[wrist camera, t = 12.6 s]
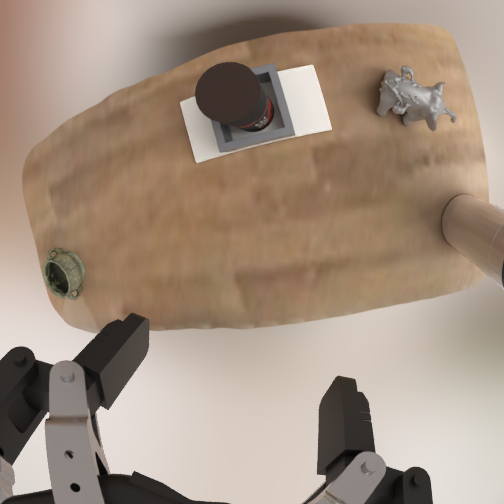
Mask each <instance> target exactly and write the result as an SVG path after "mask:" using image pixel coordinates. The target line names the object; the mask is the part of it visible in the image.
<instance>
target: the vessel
mask: <svg viewBox="0 0 504 504" xmlns="http://www.w3.org/2000/svg"><path fill="white" fill-rule="evenodd" d="M53 251H55V252H56V253H57V255H56V256H54V257H53V258H52V256H51V252H53ZM62 252H63V250H62V249H61V248H59V249H55V248H53V249H51V250H49V252H48V253H47V259H48V261H46V262H45V263H44V266H43V276H44V279H45V282H46V284H47V286H48V288H49V289H50V290H51V292H52V293H53V294H55V295H56V296H58V297H60V298H66V297H67V296H68V298H69V299H71V300H76V299H78V297H79V296H80V292H81V291H82V290H83V288H82V286H80V283H81V282H82V281H83V280H84V277H85V268H84V265H83V263H82V261H81V260H80V258H79V257H78V256H77V255H76V254H75V253H72V252H66V253H65V254H64V253H62ZM75 290H76V291H77V296H76V297H74V296H73V295H72V293H71V292H73V291H75Z"/></svg>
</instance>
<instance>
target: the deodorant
mask: <svg viewBox="0 0 504 504" xmlns="http://www.w3.org/2000/svg"><path fill="white" fill-rule="evenodd" d="M195 98H196V103H197V105H198V108H199V110H200V111H201V112H202V113H203V114H204V115H205V116H206V117H208V118H209V119H211V120H214V121H217V122H220V123H223V124H226V125H230V126H233V127H236V128H239V129H242V130H245V131H248V132H257V131H261V130H263V129H265V128H266V127H267V126H269V124H270V123H271V122H272V120H273V117H274V107H273V104H272V102H271V100H270V99H269V97H268V95H267V93H266V92H265V90H264V88H263V87H262V85H261V83H260V81H259V80H258V78H257V76H256V75H255V74H254V73H253V71H252V70H251V69H250V68H248V67H246V66H244V65H243V64H239V63H235V62H225V63H221V64H217V65H215V66H213V67H211V68H210V69H208V70H207V71H206V72H205V73H204V74H203V75H202V76H201V78H200V79H199V81H198V83H197V86H196V91H195Z"/></svg>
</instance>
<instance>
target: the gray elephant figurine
mask: <svg viewBox="0 0 504 504" xmlns="http://www.w3.org/2000/svg"><path fill="white" fill-rule="evenodd" d="M408 73H409V74H410V75H411V80H408V77H406V78H405V75H406V74H408ZM401 74H402V77H401V76H399V75H398V74H396V73H395V72H394V71H393V70H391V69H389V70H387V71H386V73H385V76H384V80H383V81H382V82H381V85H382V87H381V88H379V91H380V92H381V94H380V103H379V106H378V107H377V113H378V114H379V115H380V116H385V115H386V114H387V112H388V110H389V109H390V108H392V111H393V112H394V113H395V114H404V112H405V111H407V113H406V114H405V115H404V117H403V123H404V124H405V125H406V126H410V125H411V124H412V123H413V122H415V121H419V120H423V119H426V122H427V125H428V127H429V129H430V130H432V131H435V130H436V126H437V125H436V119H437V118H438V117H439V116H440V115H442V114H447V115H449V116H451V117H452V118H451V122H453V123H455V122H456V119H457V116H456V115H455V114H454V113H453V112H452V111H451V110H449V109H448V108H447V107H446V106H445V103H444V100H443V98H442V86H443V84H445V83H444V82H439V83H437V84H436V85H434V86H433V87H424V86H421V84H417V83H416V82H415V81H414V79H413V69H412V68H410V67H408V66H402V67H401Z"/></svg>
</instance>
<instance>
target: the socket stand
mask: <svg viewBox="0 0 504 504" xmlns="http://www.w3.org/2000/svg"><path fill="white" fill-rule="evenodd" d="M251 70H252V71H253V73H254V74H255V75H256V76H257V78H258V80H259V81H260V83H261V85H262V87H263V88H264V90H265V92H266V93H267V95H268V97H269V99H270V100H271V102H272V104H273V107H274V117H273V120H272V122H271V123H270V124H269V126H267V127H266V128H265V129H263V130H261V131H257V132H248V131H245V130H242V129H239V128H236V127H233V126H230V125H226V124H223V123H220V122H217V121H214V120H211V119H209V118H208V117H206V116H205V115H204V114H203V113H202V112H201V111H200V110H199V108H198V105H197V103H196V98H195V96H194V97H192V98H189V99H186V100H184V101H181V102H180V105H181V109H182V113H183V117H184V120H185V124H186V128H187V131H188V135H189V139H190V142H191V146H192V150H193V153H194V157H195V161H196V163H200V162H203V161H206V160H209V159H213V158H216V157H220V156H223V155H226V154H230V153H234V152H237V151H241V150H245V149H248V148H252V147H256V146H260V145H264V144H268V143H272V142H276V141H281V140H285V139H290V138H294V137H299V136H304V135H309V134H314V133H319V132H324V131H330V130H332V127H331V124H330V120H329V116H328V112H327V109H326V105H325V102H324V98H323V95H322V92H321V88H320V85H319V82H318V79H317V76H316V72H315V69H314V66H313V65H308V66H302V67H297V68H292V69H287V70H283V71H278V72H277V70H276V66H275V63H272V64H268V65H264V66H260V67H256V68H252V69H251Z"/></svg>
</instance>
